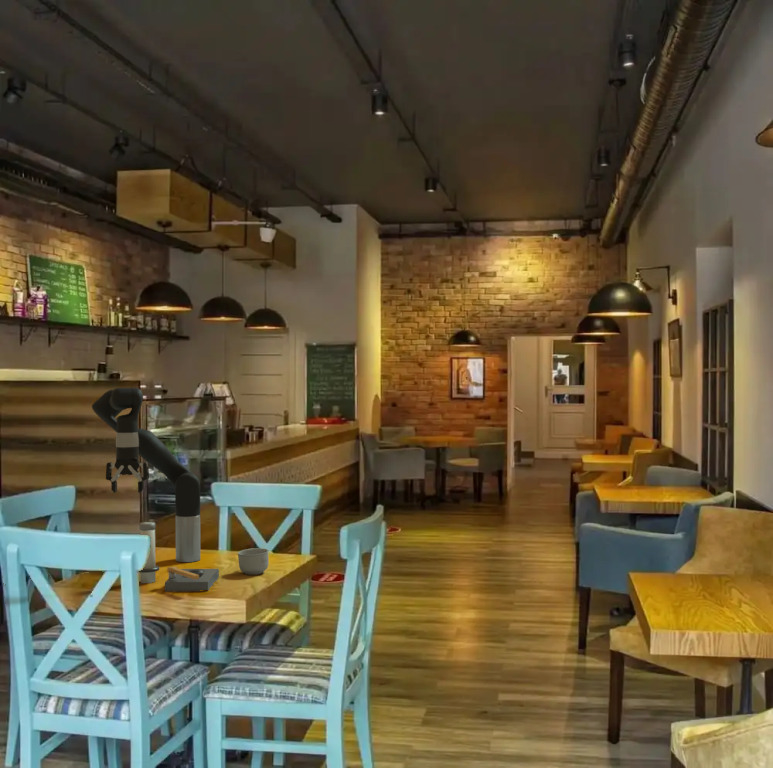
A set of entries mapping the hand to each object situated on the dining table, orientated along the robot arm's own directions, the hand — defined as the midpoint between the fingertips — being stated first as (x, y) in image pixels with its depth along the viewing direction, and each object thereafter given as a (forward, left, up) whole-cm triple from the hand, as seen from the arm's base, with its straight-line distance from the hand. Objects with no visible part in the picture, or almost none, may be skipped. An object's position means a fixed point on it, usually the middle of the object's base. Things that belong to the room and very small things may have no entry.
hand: (127, 492), depth 299 cm
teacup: (-10, +42, -30) cm, 53 cm away
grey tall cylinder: (+4, +8, -30) cm, 31 cm away
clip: (+17, +23, -25) cm, 38 cm away
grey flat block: (+8, +24, -30) cm, 39 cm away
